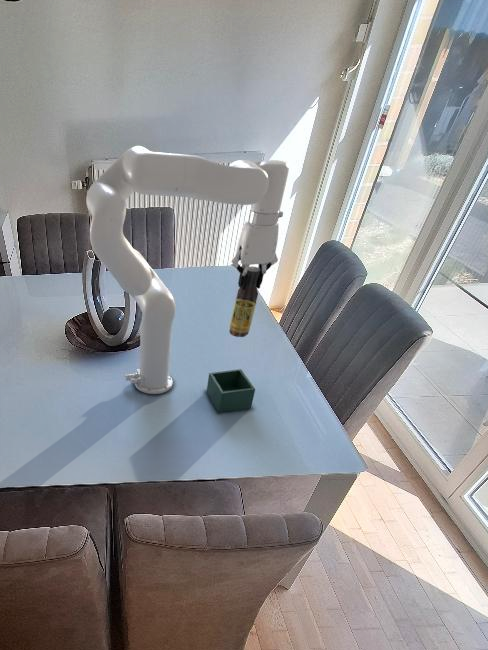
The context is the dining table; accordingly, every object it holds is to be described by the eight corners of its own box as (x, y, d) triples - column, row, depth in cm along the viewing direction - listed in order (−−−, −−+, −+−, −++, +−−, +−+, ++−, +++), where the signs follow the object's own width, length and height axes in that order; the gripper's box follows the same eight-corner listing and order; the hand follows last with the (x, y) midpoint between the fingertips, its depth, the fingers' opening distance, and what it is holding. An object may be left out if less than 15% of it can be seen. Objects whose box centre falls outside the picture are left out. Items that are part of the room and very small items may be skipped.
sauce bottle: (226, 336, 145) (237, 270, 131) (231, 327, 149) (243, 263, 134) (246, 340, 143) (260, 274, 129) (251, 331, 147) (265, 266, 132)
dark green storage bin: (218, 412, 141) (221, 393, 136) (206, 391, 149) (209, 372, 144) (250, 408, 142) (255, 389, 137) (237, 387, 150) (241, 369, 145)
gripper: (285, 211, 126) (269, 280, 139) (228, 215, 124) (217, 285, 137) (298, 219, 121) (280, 290, 134) (239, 224, 119) (227, 295, 132)
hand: (249, 286), depth 135 cm, fingers closed on sauce bottle, 4 cm apart
